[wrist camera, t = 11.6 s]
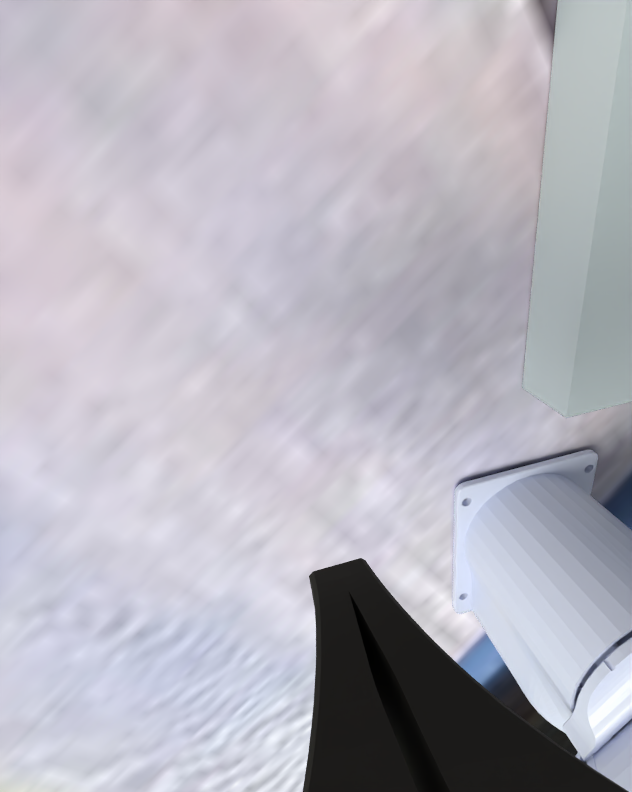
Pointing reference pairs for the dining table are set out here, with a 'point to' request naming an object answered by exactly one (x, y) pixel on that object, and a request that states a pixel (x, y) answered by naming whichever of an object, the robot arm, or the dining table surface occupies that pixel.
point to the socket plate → (585, 217)
